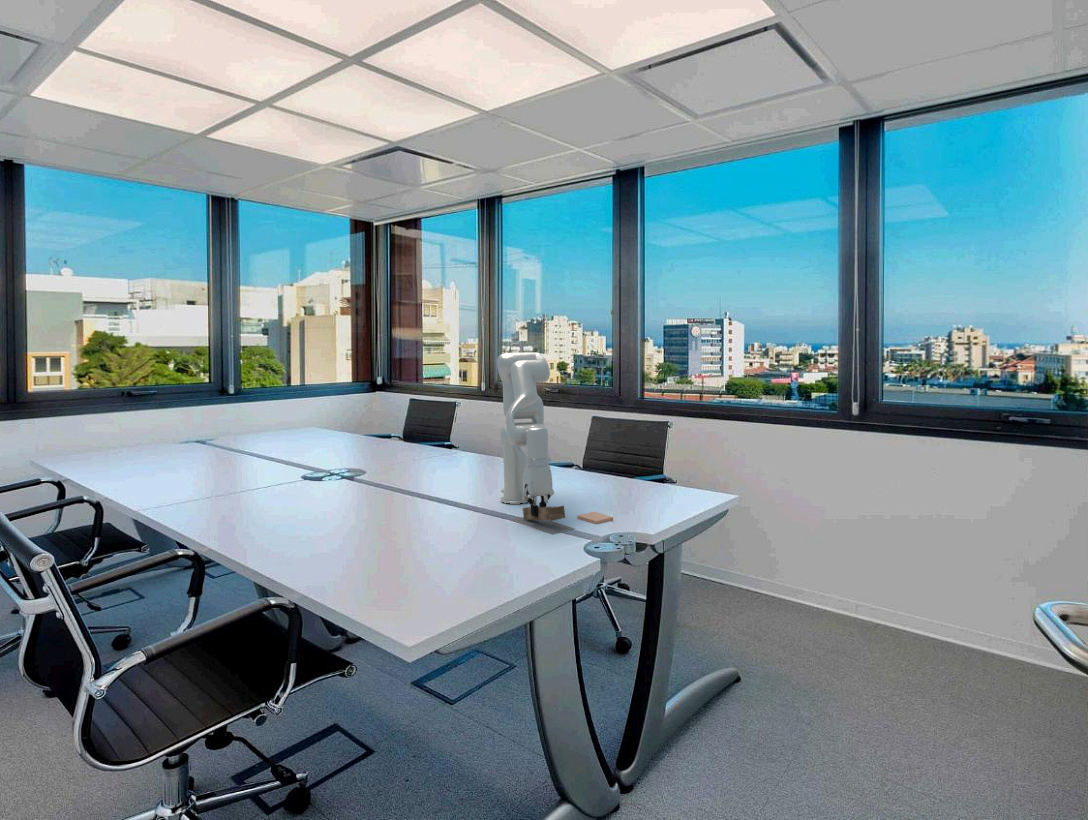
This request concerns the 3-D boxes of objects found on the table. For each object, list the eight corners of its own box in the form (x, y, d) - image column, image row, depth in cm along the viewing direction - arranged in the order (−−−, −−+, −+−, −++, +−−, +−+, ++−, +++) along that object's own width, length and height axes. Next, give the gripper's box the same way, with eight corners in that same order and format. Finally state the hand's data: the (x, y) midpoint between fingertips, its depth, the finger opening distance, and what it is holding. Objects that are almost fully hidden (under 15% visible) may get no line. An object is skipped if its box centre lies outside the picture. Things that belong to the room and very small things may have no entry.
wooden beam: (520, 520, 229) (518, 508, 229) (534, 517, 232) (532, 506, 233) (551, 520, 215) (549, 508, 215) (565, 517, 218) (563, 505, 218)
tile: (577, 515, 231) (595, 521, 223) (594, 511, 235) (613, 517, 227) (577, 521, 231) (595, 527, 223) (594, 517, 236) (613, 522, 228)
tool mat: (510, 521, 230) (510, 519, 230) (533, 516, 236) (533, 515, 236) (552, 536, 211) (552, 534, 211) (576, 530, 217) (576, 528, 217)
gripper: (549, 458, 231) (550, 509, 233) (511, 464, 221) (513, 517, 223) (562, 461, 225) (564, 513, 227) (524, 467, 215) (526, 521, 217)
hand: (538, 514), depth 225 cm, fingers closed on wooden beam, 3 cm apart
